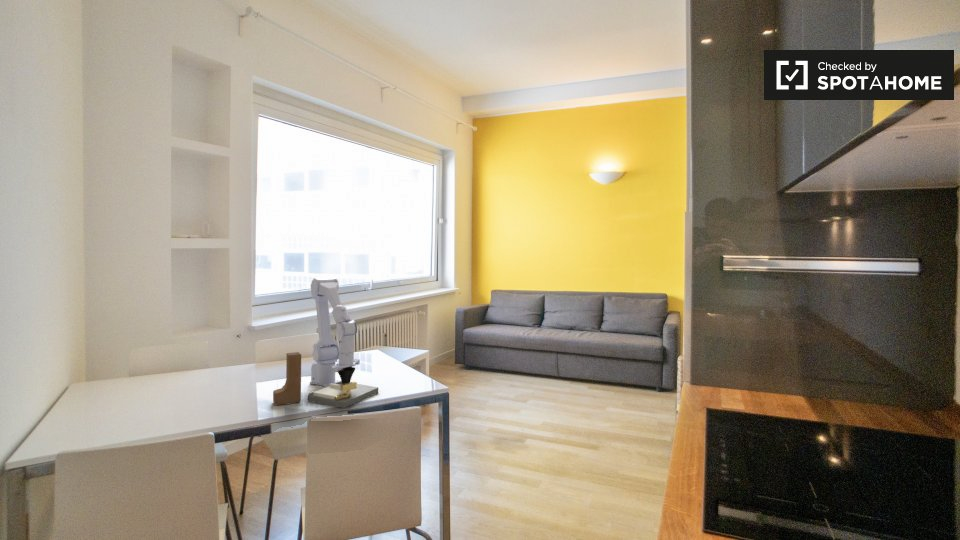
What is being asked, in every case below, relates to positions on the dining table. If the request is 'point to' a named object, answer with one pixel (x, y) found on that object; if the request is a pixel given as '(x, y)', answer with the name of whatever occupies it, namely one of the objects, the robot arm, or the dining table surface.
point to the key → (347, 388)
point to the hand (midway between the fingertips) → (345, 386)
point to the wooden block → (290, 382)
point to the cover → (329, 391)
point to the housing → (355, 396)
